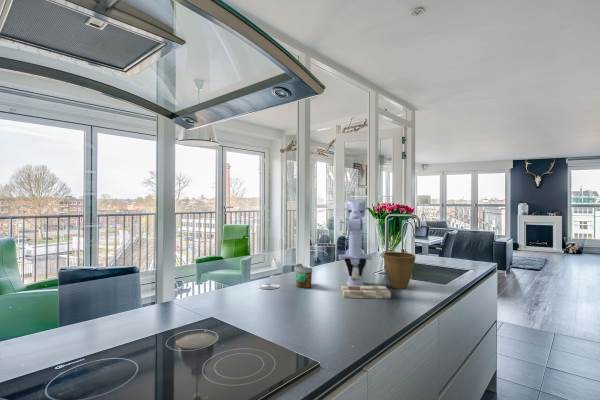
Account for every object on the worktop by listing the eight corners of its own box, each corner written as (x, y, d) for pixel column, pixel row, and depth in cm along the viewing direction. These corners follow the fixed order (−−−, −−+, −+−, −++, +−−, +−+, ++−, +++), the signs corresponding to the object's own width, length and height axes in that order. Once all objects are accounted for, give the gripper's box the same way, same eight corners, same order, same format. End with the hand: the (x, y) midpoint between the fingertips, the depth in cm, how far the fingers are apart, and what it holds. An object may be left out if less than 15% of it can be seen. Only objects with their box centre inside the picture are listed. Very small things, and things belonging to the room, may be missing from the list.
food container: (290, 284, 159) (290, 264, 159) (301, 283, 161) (301, 263, 161) (300, 290, 148) (300, 269, 148) (312, 289, 150) (312, 268, 150)
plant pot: (379, 288, 152) (380, 255, 152) (387, 281, 165) (387, 251, 165) (412, 293, 144) (412, 258, 144) (417, 285, 157) (417, 253, 157)
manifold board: (341, 290, 148) (341, 285, 148) (384, 291, 147) (384, 285, 147) (344, 297, 137) (344, 292, 137) (390, 298, 136) (390, 292, 136)
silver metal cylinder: (350, 278, 144) (349, 263, 144) (358, 278, 144) (358, 263, 144) (351, 280, 140) (351, 265, 140) (360, 280, 140) (360, 264, 140)
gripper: (339, 246, 138) (339, 277, 138) (373, 246, 138) (373, 278, 138) (338, 244, 145) (338, 274, 145) (370, 244, 145) (369, 274, 145)
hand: (355, 275), depth 142 cm, fingers closed on silver metal cylinder, 4 cm apart
